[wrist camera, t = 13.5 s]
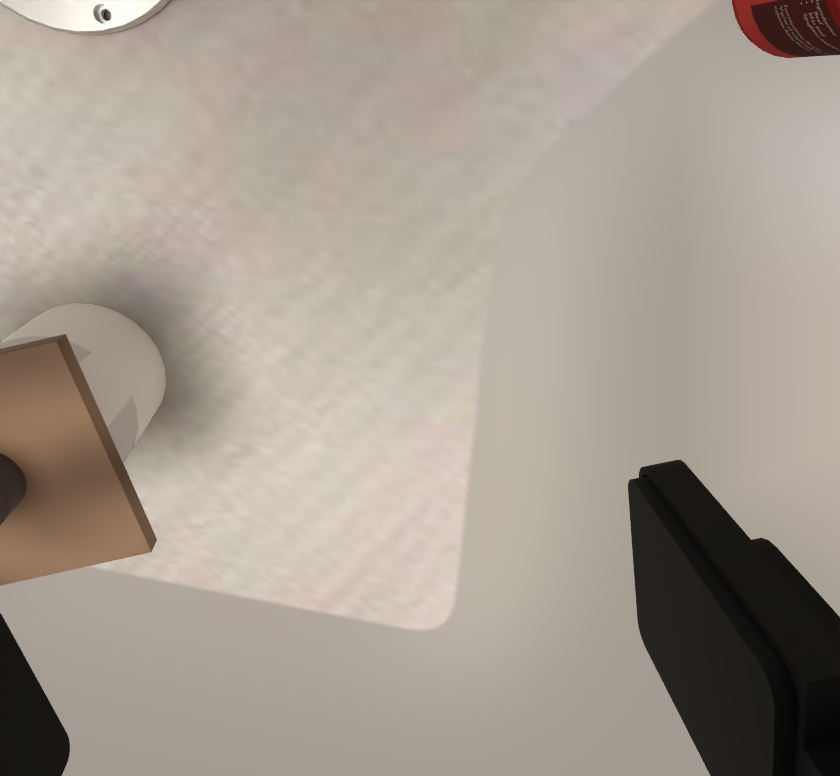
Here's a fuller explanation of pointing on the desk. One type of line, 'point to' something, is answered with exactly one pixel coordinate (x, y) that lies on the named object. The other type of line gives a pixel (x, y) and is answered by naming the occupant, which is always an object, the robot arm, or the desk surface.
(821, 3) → the canned food
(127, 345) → the white cylindrical piece
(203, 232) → the desk surface
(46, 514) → the lid
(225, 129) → the desk surface
